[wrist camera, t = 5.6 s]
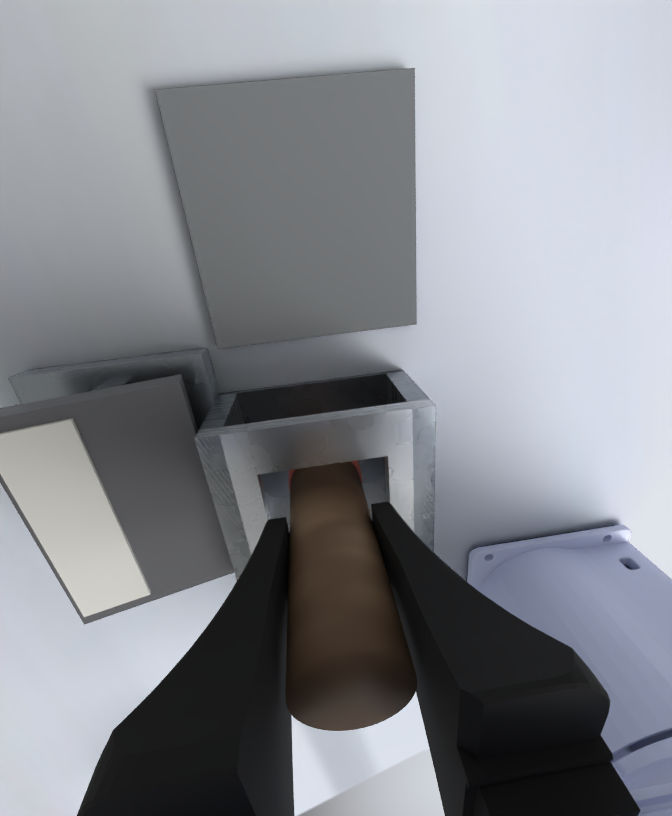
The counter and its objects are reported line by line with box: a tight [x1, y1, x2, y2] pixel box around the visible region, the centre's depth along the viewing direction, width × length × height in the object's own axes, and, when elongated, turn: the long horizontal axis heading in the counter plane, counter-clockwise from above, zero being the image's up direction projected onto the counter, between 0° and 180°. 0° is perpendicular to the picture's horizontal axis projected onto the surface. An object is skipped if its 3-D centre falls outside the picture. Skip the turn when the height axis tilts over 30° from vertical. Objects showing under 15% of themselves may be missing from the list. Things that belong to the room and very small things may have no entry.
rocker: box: [0, 374, 234, 624], centre depth 13 cm, size 6×9×1 cm, turn 6°
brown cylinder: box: [285, 461, 417, 731], centre depth 12 cm, size 3×3×8 cm
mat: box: [155, 68, 417, 349], centre depth 13 cm, size 8×8×1 cm
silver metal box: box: [8, 348, 436, 580], centre depth 14 cm, size 15×10×4 cm, turn 96°
